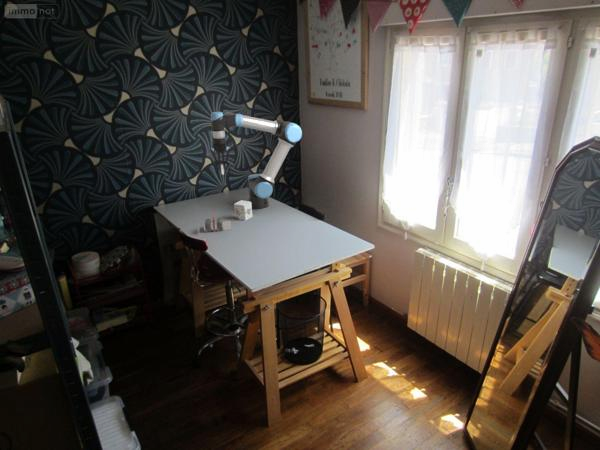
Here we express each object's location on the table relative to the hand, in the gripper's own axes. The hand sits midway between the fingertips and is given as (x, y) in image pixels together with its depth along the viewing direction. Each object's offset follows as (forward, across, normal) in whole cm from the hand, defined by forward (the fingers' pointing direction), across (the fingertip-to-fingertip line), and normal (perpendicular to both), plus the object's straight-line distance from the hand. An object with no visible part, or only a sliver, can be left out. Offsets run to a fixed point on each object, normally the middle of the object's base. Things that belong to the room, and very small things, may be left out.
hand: (222, 174), depth 269 cm
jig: (+29, 0, +25) cm, 39 cm away
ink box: (+30, -11, +8) cm, 33 cm away
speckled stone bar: (+28, +6, +25) cm, 38 cm away
